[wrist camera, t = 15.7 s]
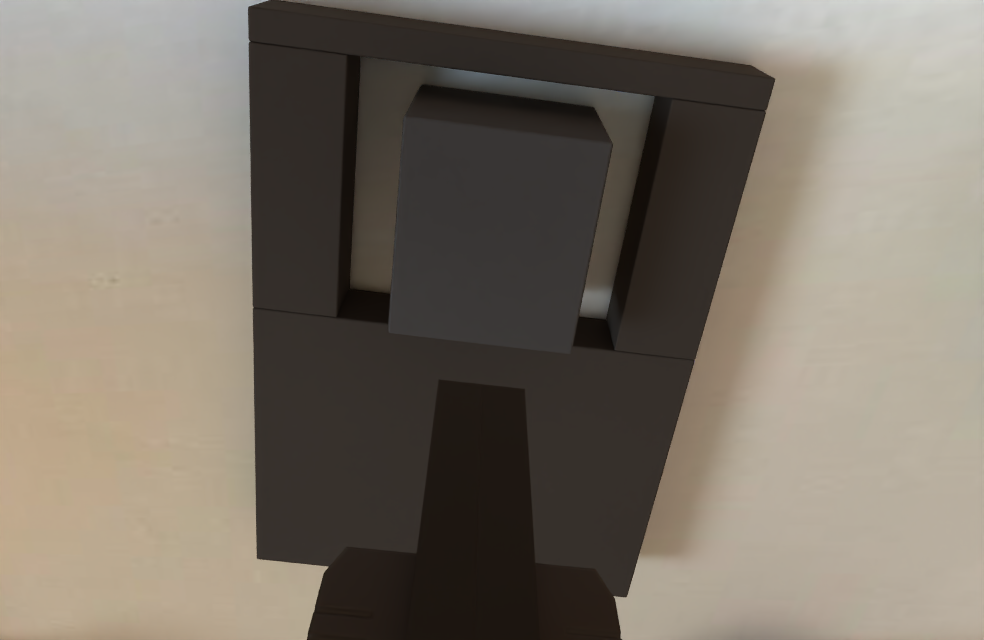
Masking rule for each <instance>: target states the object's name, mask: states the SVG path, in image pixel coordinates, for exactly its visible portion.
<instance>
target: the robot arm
mask: <svg viewBox="0 0 984 640" xmlns="http://www.w3.org/2000/svg"><path fill="white" fill-rule="evenodd" d="M620 634H621V631H620V625H619V620H618V614H617V608H616V602H615V598H614V597H613V595H612V594H611V592H610V591H609V589H608V588H607V586H606V584H605V583H604V581H603V580H602V578H601V577H600V575H599V574H598V572H597V571H596V569H591V568H581V567H571V566H561V565H550V564H540V563H535V548H534V532H533V515H532V499H531V482H530V466H529V449H528V433H527V416H526V400H525V389H521V388H512V387H503V386H494V385H485V384H476V383H467V382H458V381H449V380H440V379H439V381H438V388H437V396H436V404H435V412H434V420H433V428H432V436H431V444H430V452H429V460H428V468H427V475H426V483H425V491H424V499H423V507H422V515H421V523H420V531H419V539H418V547H417V553H407V552H397V551H387V550H377V549H366V548H356V547H345V549H344V550H343V551H342V552H341V553H340V555H339V556H338V557H337V558H336V559H335V560H334V562H333V563H332V564H331V565H330V566H329V568H328V569H327V570H326V571H325V572H324V575H323V578H322V582H321V586H320V590H319V593H318V597H317V601H316V605H315V611H314V612H313V616H312V620H311V624H310V627H309V631H308V637H307V640H622V639H621V638H620Z"/></svg>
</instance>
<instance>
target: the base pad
mask: <svg viewBox="0 0 984 640" xmlns="http://www.w3.org/2000/svg"><path fill="white" fill-rule="evenodd" d="M248 25H249V41H251V42H249V89H250V153H251V217H252V281H253V307H254V308H253V342H254V406H255V471H256V535H257V559H263V560H272V561H282V562H291V563H301V564H311V565H320V566H330V565H331V564H332V563H333V562H334V560H335V559H336V558H337V557H338V556H339V555H340V553H341V552H342V551H343V550H344V549H345V547H356V548H366V549H377V550H387V551H397V552H407V553H417V547H418V539H419V531H420V523H421V515H422V507H423V499H424V491H425V483H426V475H427V468H428V460H429V452H430V444H431V436H432V428H433V420H434V412H435V404H436V396H437V388H438V381H439V379H440V380H449V381H458V382H467V383H476V384H485V385H494V386H503V387H512V388H521V389H525V400H526V416H527V433H528V449H529V466H530V482H531V499H532V515H533V532H534V548H535V563H540V564H550V565H561V566H571V567H581V568H591V569H596V571H597V572H598V574H599V575H600V577H601V578H602V580H603V581H604V583H605V584H606V586H607V588H608V589H609V591H610V592H611V594H612V595H613V596H618V597H627V595H628V591H629V588H630V584H631V581H632V577H633V574H634V570H635V567H636V563H637V560H638V556H639V553H640V549H641V546H642V542H643V539H644V535H645V532H646V528H647V525H648V521H649V518H650V514H651V511H652V508H653V504H654V501H655V497H656V494H657V490H658V487H659V483H660V480H661V476H662V473H663V469H664V466H665V462H666V459H667V455H668V452H669V448H670V445H671V441H672V438H673V434H674V431H675V427H676V424H677V420H678V417H679V413H680V410H681V406H682V403H683V399H684V396H685V392H686V389H687V385H688V382H689V378H690V375H691V371H692V368H693V365H694V360H695V358H696V354H697V351H698V347H699V344H700V341H701V337H702V334H703V330H704V327H705V323H706V320H707V316H708V313H709V309H710V306H711V302H712V299H713V295H714V292H715V288H716V285H717V281H718V278H719V274H720V271H721V267H722V264H723V260H724V257H725V253H726V250H727V246H728V243H729V239H730V236H731V232H732V229H733V225H734V222H735V218H736V215H737V212H738V208H739V205H740V201H741V198H742V194H743V191H744V187H745V184H746V180H747V177H748V173H749V170H750V166H751V163H752V159H753V156H754V152H755V149H756V145H757V142H758V138H759V135H760V131H761V128H762V124H763V121H764V117H765V114H766V112H765V110H766V109H767V107H768V103H769V100H770V96H771V93H772V89H773V86H774V82H775V79H774V78H773V77H771V76H769V75H767V74H766V73H764V72H762V71H760V70H758V69H756V68H755V67H753V66H750V65H743V64H736V63H729V62H721V61H714V60H707V59H700V58H692V57H685V56H678V55H671V54H663V53H656V52H649V51H641V50H634V49H627V48H620V47H612V46H605V45H598V44H591V43H583V42H576V41H569V40H562V39H554V38H547V37H540V36H533V35H525V34H518V33H511V32H503V31H496V30H489V29H482V28H474V27H467V26H460V25H453V24H445V23H438V22H431V21H424V20H416V19H409V18H402V17H395V16H387V15H380V14H373V13H365V12H358V11H351V10H344V9H336V8H329V7H322V6H315V5H307V4H300V3H293V2H286V1H278V0H269V1H266V2H263V3H259V4H256V5H253V6H249V8H248ZM361 56H362V57H370V58H377V59H385V60H392V61H399V62H407V63H414V64H422V65H429V66H436V67H444V68H451V69H459V70H466V71H473V72H481V73H488V74H496V75H503V76H511V77H518V78H525V79H533V80H540V81H548V82H555V83H562V84H570V85H577V86H585V87H592V88H599V89H607V90H614V91H622V92H629V93H636V94H644V95H651V96H655V100H654V105H653V110H652V114H651V119H650V123H649V128H648V132H647V137H646V141H645V146H644V150H643V155H642V160H641V164H640V169H639V173H638V178H637V182H636V187H635V191H634V196H633V200H632V205H631V210H630V214H629V219H628V223H627V228H626V232H625V237H624V241H623V246H622V250H621V255H620V260H619V264H618V269H617V273H616V278H615V282H614V287H613V291H612V296H611V300H610V305H609V310H608V314H607V321H605V320H597V319H589V318H581V317H578V322H577V327H576V332H575V337H574V342H573V347H572V352H571V353H570V354H564V353H556V352H547V351H539V350H530V349H521V348H513V347H504V346H496V345H487V344H479V343H470V342H462V341H453V340H445V339H436V338H428V337H419V336H411V335H402V334H394V333H389V331H388V323H389V309H390V294H382V293H374V292H366V291H357V290H349V288H350V267H351V246H352V225H353V204H354V183H355V162H356V141H357V120H358V99H359V78H360V57H361Z"/></svg>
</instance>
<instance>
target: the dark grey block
mask: <svg viewBox="0 0 984 640" xmlns="http://www.w3.org/2000/svg"><path fill="white" fill-rule="evenodd" d="M612 147H613V144H612V141H611V140H610V138H609V136H608V134H607V132H606V130H605V128H604V126H603V124H602V122H601V120H600V118H599V116H598V114H597V112H596V110H595V108H593V107H588V106H580V105H573V104H565V103H557V102H550V101H542V100H535V99H527V98H520V97H512V96H505V95H497V94H489V93H482V92H474V91H467V90H459V89H452V88H444V87H437V86H429V85H421V86H420V88H419V90H418V92H417V94H416V96H415V97H414V99H413V101H412V103H411V105H410V107H409V109H408V111H407V113H406V114H405V116H404V119H403V132H402V146H401V159H400V173H399V187H398V200H397V214H396V227H395V241H394V255H393V268H392V282H391V295H390V309H389V323H388V331H389V333H394V334H402V335H411V336H419V337H428V338H436V339H445V340H453V341H462V342H470V343H479V344H487V345H496V346H504V347H513V348H521V349H530V350H539V351H547V352H556V353H564V354H570V353H571V352H572V347H573V342H574V337H575V332H576V327H577V322H578V317H579V312H580V307H581V302H582V297H583V292H584V287H585V282H586V277H587V272H588V267H589V262H590V257H591V252H592V247H593V242H594V237H595V232H596V227H597V222H598V217H599V212H600V207H601V202H602V197H603V192H604V187H605V182H606V177H607V172H608V167H609V162H610V157H611V152H612Z"/></svg>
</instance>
